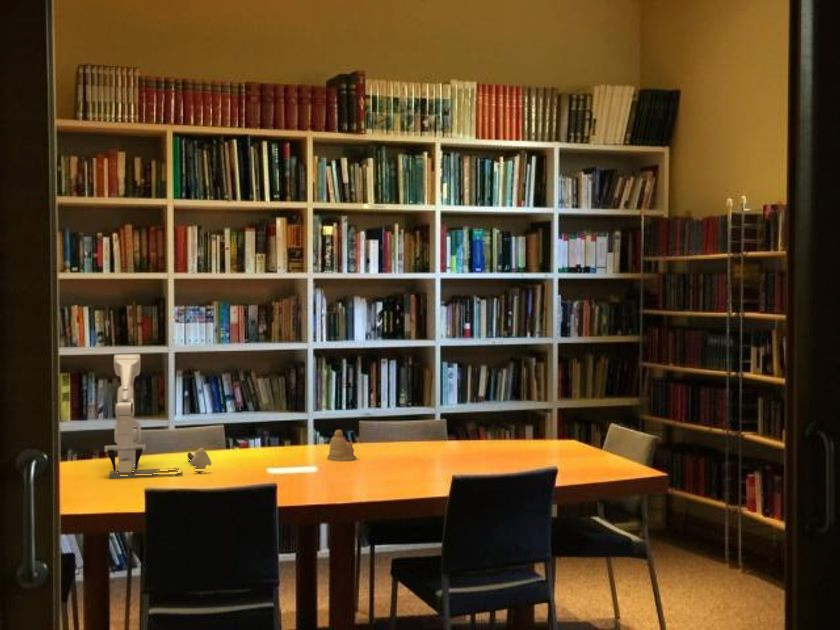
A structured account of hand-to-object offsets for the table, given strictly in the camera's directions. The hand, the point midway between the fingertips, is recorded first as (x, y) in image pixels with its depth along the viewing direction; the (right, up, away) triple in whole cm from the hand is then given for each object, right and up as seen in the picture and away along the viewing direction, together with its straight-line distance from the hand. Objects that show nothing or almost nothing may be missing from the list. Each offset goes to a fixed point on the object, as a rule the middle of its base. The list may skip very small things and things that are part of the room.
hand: (125, 470), depth 397 cm
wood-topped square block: (0, -2, 0) cm, 2 cm away
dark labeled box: (+20, -2, +25) cm, 32 cm away
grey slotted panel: (+7, -2, +2) cm, 8 cm away
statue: (+77, -1, +39) cm, 87 cm away
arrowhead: (+27, -2, +7) cm, 28 cm away
